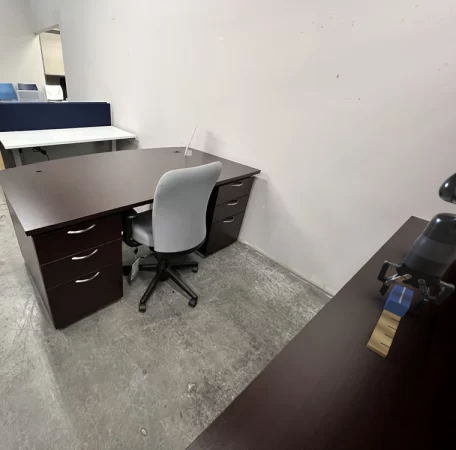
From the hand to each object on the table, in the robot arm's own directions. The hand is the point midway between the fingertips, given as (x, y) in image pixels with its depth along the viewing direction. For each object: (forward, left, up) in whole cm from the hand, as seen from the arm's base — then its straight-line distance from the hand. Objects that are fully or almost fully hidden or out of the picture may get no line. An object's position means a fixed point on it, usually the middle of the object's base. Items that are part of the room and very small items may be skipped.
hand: (398, 301), depth 68 cm
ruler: (0, +14, -2) cm, 15 cm away
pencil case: (0, 0, -1) cm, 1 cm away
